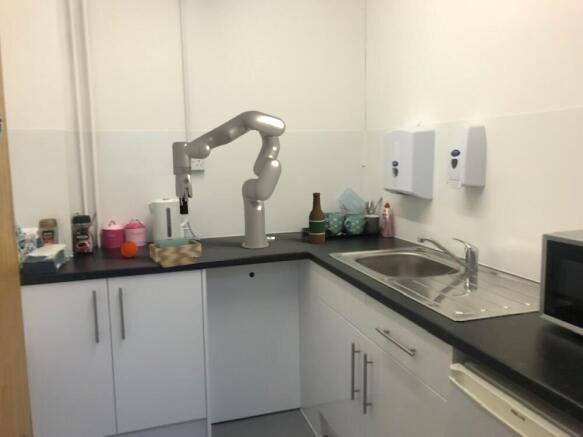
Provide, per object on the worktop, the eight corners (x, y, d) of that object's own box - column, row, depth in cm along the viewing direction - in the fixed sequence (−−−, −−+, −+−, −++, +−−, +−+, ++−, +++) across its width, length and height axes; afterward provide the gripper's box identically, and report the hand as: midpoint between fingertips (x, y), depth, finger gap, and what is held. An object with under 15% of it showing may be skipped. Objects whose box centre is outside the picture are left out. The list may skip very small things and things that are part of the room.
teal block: (185, 245, 204) (185, 238, 203) (188, 247, 200) (188, 240, 199) (158, 248, 198) (157, 241, 198) (160, 250, 194) (160, 243, 194)
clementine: (124, 255, 204) (123, 239, 203) (140, 254, 205) (139, 239, 204) (119, 259, 196) (118, 243, 195) (136, 259, 197) (135, 242, 196)
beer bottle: (309, 240, 230) (309, 192, 226) (325, 240, 229) (325, 191, 225) (308, 243, 222) (307, 193, 219) (324, 243, 221) (324, 193, 218)
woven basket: (193, 251, 210) (193, 239, 209) (201, 256, 200) (201, 243, 199) (150, 256, 200) (149, 244, 200) (156, 262, 190) (155, 249, 190)
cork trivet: (191, 258, 196) (191, 256, 196) (198, 262, 188) (198, 261, 188) (158, 262, 190) (158, 261, 189) (163, 267, 182) (163, 265, 182)
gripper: (196, 171, 192) (197, 215, 195) (186, 170, 205) (187, 211, 208) (178, 172, 188) (180, 217, 191) (169, 170, 201) (170, 212, 204)
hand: (184, 214), depth 199 cm, fingers closed
